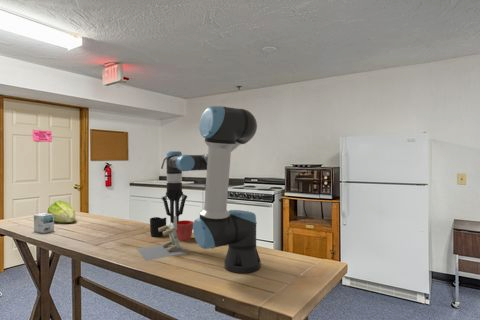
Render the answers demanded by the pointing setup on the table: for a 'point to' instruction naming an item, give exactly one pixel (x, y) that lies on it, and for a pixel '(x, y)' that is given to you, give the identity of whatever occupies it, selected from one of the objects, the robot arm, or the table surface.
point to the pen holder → (157, 226)
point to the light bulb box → (43, 223)
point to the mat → (159, 252)
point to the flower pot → (184, 230)
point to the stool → (172, 235)
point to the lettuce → (62, 212)
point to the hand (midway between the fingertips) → (174, 229)
